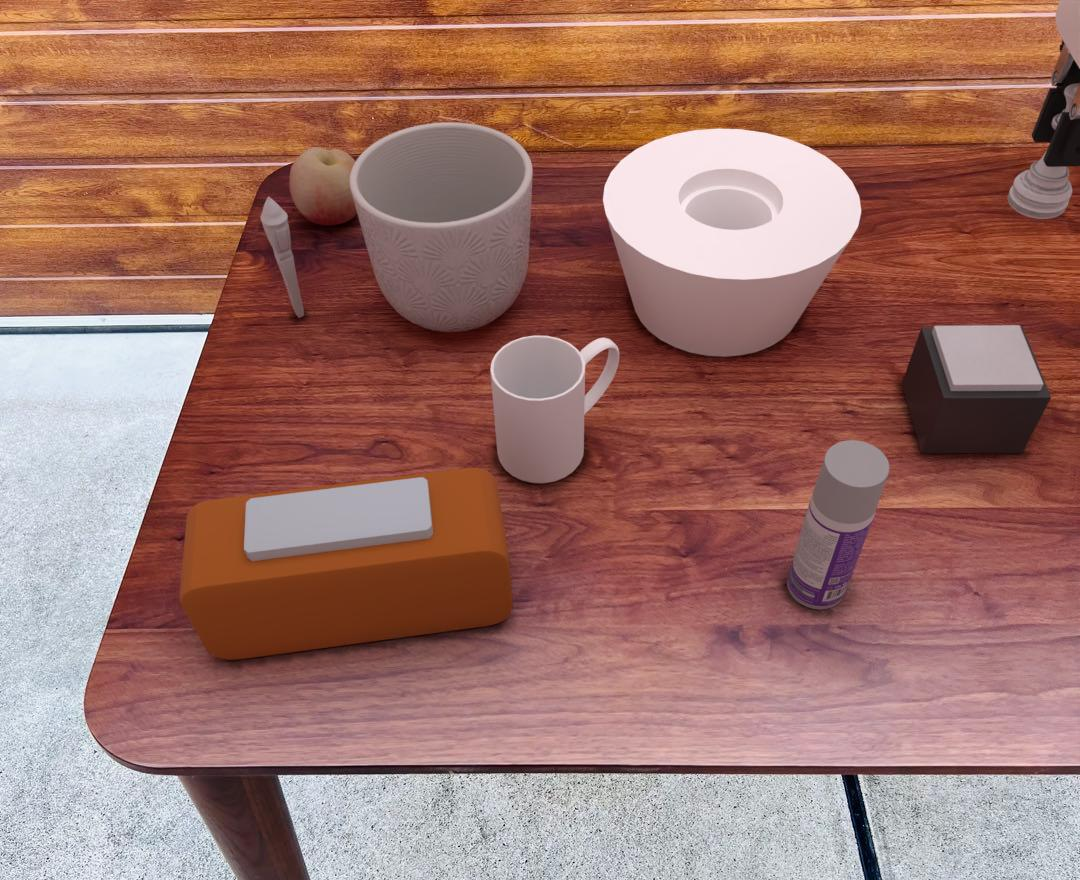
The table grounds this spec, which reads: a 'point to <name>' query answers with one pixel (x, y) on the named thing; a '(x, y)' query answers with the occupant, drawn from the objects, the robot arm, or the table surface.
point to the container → (837, 523)
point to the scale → (974, 389)
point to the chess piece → (1043, 182)
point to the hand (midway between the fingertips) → (1059, 150)
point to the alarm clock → (346, 563)
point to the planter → (446, 222)
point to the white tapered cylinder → (727, 235)
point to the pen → (282, 249)
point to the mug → (544, 404)
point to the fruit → (323, 186)
